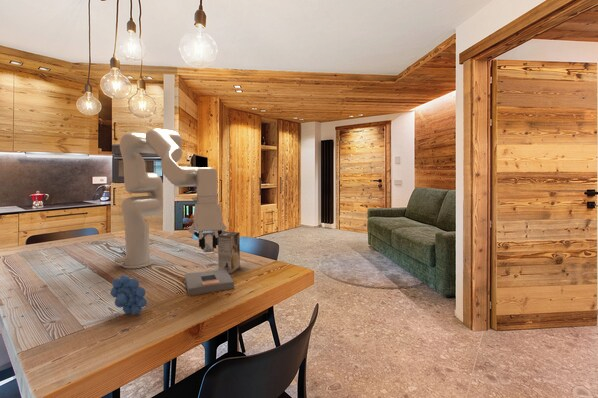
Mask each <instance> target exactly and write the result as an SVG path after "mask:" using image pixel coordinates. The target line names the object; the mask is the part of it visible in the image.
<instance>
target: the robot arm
mask: <svg viewBox="0 0 598 398" xmlns="http://www.w3.org/2000/svg"><path fill="white" fill-rule="evenodd" d="M182 145H183V139H182V136H181V135H180V134H179V132H177V131H174V130H170V129H165V128H163V129H162V128H151V129H149V130H148V131H147V132H146V133H141V132H127V133H124V134H123V135H121V139H120V140H119V150H120V154H121V158H122V162H123V163H122V164H123V180H124V182H123V183H124V189H125V191H126V192H127V193H130V194H146V193H147V195H135V196H130V197H126V198H124V199H123V200H122V201H121V206H120V207H121V213H122V216H123V221H124V233H125V234H124V237H125V256H123V257H115V258H114V263H117V264H118V263H119V264H121V263H122V268H124V269H129V270H130V269H141V268H146V267H149V266H152V265H153V264H154V261H155V260H154V259H153V258H151V256H150V255H151V254H150V253H151V252H150V228H149V224H148V222H147V221H146V220H145V217H149V216H150V217H151V216H156V215H159V214H160V213H162V211H163V209H164V189H163V188H164V187H163V186H164V185H163V179H162V178H161V176H160V175H159V174H158V173H156V172H147V171H146V170H147V169H146V162H145V159H144V158H143V157H142V155H141V154H152V155H153V154H154V155H157V156H158V157H159V158H160V159H161V163H160V166H161V167H160V168H161V172H162V174H163V175H164V177H165V178H166V179H167V180H168V181H169V182H170V183H171V184H172V185H174V186H175V187H177V188H179V187H180V188H184V187H196V196H195V197H192V202H196V203H195V204H194V208H193V209H194V210H193V222H192V224H191V226H190V227H189V229H188V232H189V233H190V234H192V235H194V236H195V237H196V238H197V239H198V246H199V248H200V250H201V251H203V249H204V240H203V233H204V232H214V249H217V246H218V237H219V235H221V234H223V232H225V231H226V230H227V229H228V228H227V226H226V225H225V223H224V222H223V214H222V213H223V212H222V207H221V204H220V203H219V200H218V199H219V198H218V197H219V196H218V193H219V191H218V170H217V169H216V168H215V167H209V166H207V167H206V166H205V167H204V166H203V167H200V166H199V167H198V166H180V165H178V161H180V160H181V158H182V156H183V148H181V147H182Z"/></svg>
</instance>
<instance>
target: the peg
mask: <svg viewBox="0 0 598 398" xmlns="http://www.w3.org/2000/svg"><path fill="white" fill-rule="evenodd" d="M202 237H203V240H204V249H203V250H202V252H204V253H212V252H214V251H215V248H214V232H213V231H203V235H202Z"/></svg>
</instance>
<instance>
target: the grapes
mask: <svg viewBox="0 0 598 398" xmlns="http://www.w3.org/2000/svg"><path fill="white" fill-rule="evenodd" d="M111 285H112V288H111V290H110V296H111V297H113V298H115V299H114V305H115V306H116V307H117V308H121V309H122V311H123V312H124V313H125V314H127V315H130V314H132V313H133V314H135V315H138V314H140V313H142V310H143V308H145V307H146V305H147V303H148V301H147V299H146V298H145V296H146V290H145V288H144V287H143V286H139V285H140V282H139V281H138V279H137V278H133V277H132V278H130V277H129V276H128V275H126V274H123V275H120V277H119V278H114V279H113V280H112V283H111Z"/></svg>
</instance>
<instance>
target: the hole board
mask: <svg viewBox="0 0 598 398" xmlns="http://www.w3.org/2000/svg"><path fill="white" fill-rule="evenodd" d="M184 282H185V286H186V290H187V294H188V296H196V295H200V294H207V293H213V292H219V291H226V290H227V291H228V290H231V289H232V290H234V289H235V281H234V279H233V277H232V276H231V275H230V273H228V272H227V270H226V269H220V270H219V269H214V270H213V269H212V270H205V271H197V272H191V273H185V274H184Z"/></svg>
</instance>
